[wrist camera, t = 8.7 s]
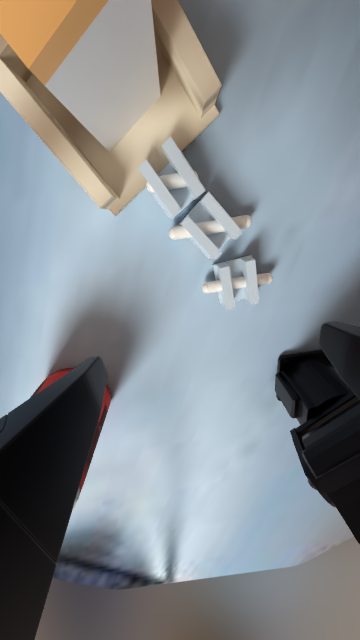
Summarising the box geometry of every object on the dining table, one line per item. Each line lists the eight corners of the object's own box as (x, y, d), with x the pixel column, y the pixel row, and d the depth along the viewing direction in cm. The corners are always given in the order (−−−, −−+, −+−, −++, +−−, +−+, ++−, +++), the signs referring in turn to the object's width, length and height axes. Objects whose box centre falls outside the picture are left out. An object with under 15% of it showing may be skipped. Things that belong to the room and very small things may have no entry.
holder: (218, 116, 16) (227, 95, 13) (116, 215, 18) (106, 215, 16) (113, -74, 12) (96, -157, 10) (4, 82, 15) (-34, 51, 12)
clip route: (203, 118, 16) (207, 105, 14) (276, 283, 21) (286, 289, 19) (132, 173, 17) (127, 168, 15) (218, 315, 23) (222, 324, 21)
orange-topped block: (160, 96, 15) (142, -91, 6) (109, 152, 16) (28, 69, 7) (118, 28, 14) (7, -355, 4) (65, 95, 15) (-105, -100, 6)
